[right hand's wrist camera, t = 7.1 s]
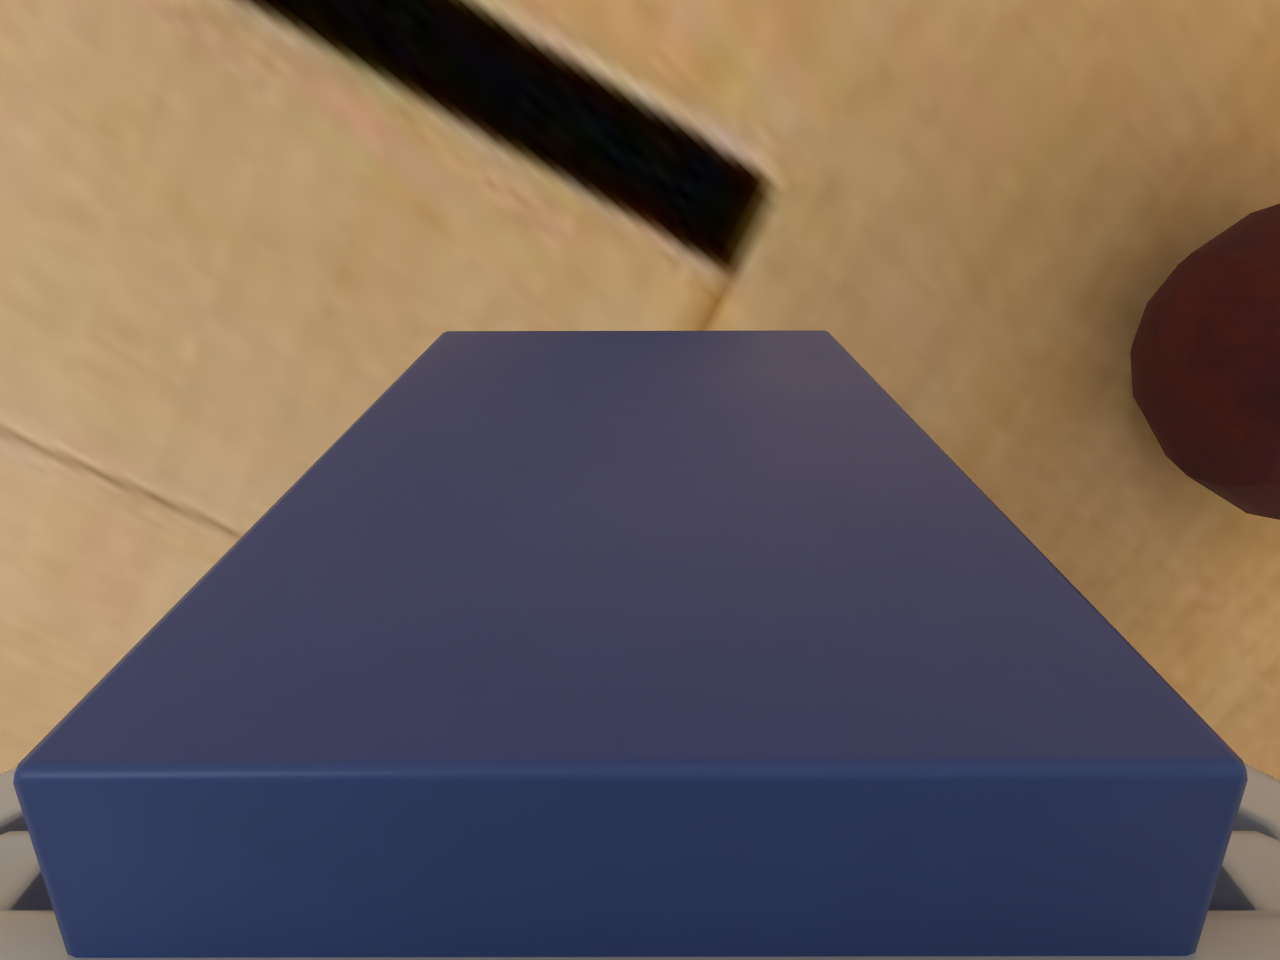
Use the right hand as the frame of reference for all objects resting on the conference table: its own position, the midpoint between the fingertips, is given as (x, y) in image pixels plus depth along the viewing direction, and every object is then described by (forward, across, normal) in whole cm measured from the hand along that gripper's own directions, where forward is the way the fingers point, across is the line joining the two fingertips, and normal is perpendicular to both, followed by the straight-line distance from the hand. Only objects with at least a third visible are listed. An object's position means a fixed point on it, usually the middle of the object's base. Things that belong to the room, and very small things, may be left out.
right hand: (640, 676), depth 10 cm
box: (+5, 0, -11) cm, 12 cm away
